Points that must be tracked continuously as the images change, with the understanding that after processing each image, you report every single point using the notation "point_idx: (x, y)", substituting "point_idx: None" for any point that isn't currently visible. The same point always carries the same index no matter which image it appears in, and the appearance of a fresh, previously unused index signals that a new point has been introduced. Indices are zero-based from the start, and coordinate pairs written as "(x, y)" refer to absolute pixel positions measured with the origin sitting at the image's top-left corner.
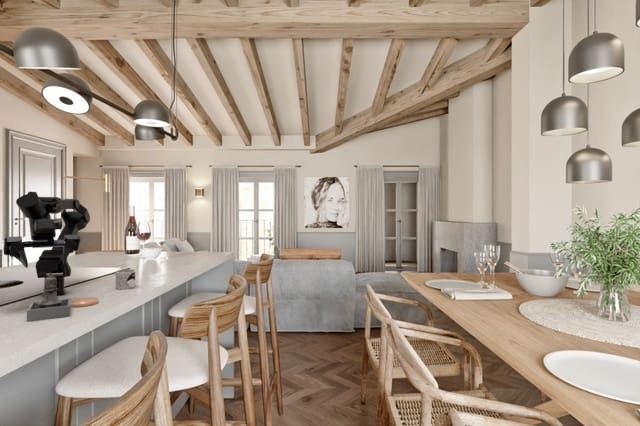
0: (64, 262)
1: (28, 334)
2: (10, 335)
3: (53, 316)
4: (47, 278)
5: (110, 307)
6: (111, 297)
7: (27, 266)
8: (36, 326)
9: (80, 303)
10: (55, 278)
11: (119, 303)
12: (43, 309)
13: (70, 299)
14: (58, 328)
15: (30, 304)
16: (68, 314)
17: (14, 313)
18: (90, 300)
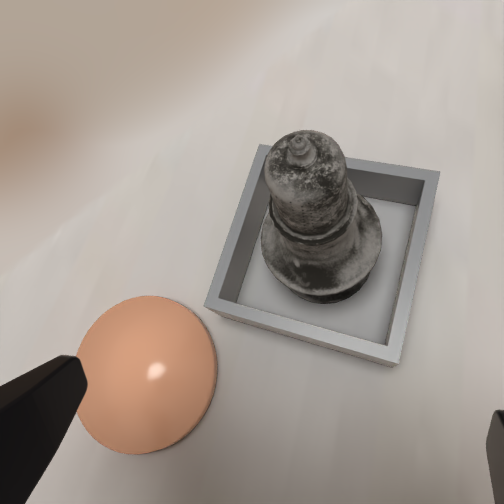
0: (73, 356)
1: (442, 21)
2: (499, 42)
3: None
4: (328, 139)
5: (109, 205)
6: None
7: (494, 422)
8: (405, 102)
9: (173, 311)
10: (274, 144)
11: (54, 249)
12: (367, 162)
13: (213, 282)
14: (346, 35)
15: (407, 310)
16: None
17: (470, 434)
18: (117, 343)
